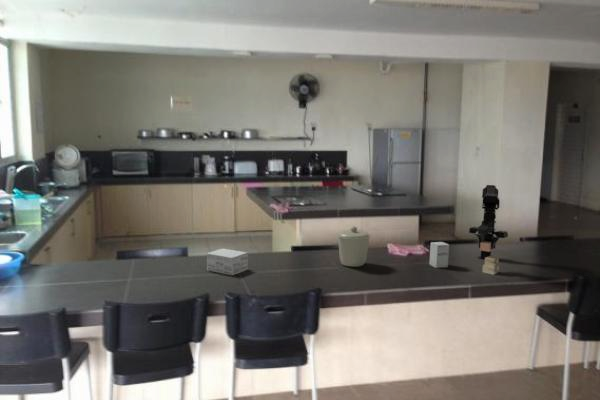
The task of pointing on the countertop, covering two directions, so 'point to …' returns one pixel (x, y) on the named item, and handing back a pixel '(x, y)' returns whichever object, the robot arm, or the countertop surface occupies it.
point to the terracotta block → (486, 246)
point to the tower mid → (491, 261)
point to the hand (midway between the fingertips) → (487, 248)
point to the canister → (353, 247)
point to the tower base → (490, 269)
